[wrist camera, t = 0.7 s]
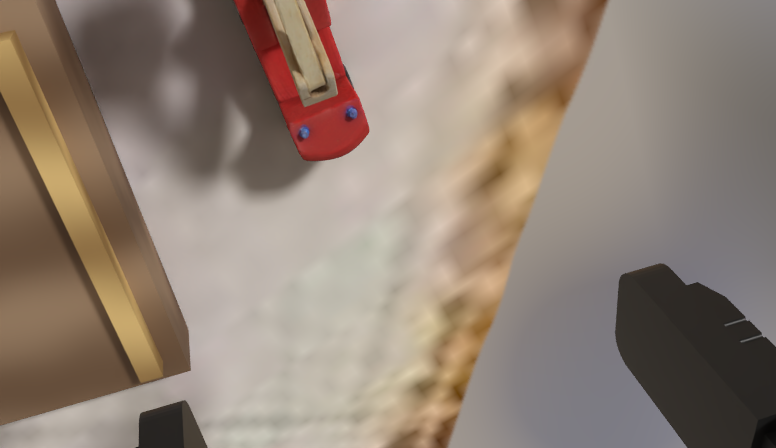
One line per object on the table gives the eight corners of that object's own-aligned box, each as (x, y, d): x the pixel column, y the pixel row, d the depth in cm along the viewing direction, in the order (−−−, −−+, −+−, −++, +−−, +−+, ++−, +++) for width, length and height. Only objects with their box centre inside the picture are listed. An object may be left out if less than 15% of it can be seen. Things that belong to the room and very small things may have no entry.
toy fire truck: (291, 137, 33) (333, 258, 25) (149, -196, 25) (147, -170, 17) (359, 110, 33) (423, 222, 25) (241, -229, 25) (280, -219, 17)
